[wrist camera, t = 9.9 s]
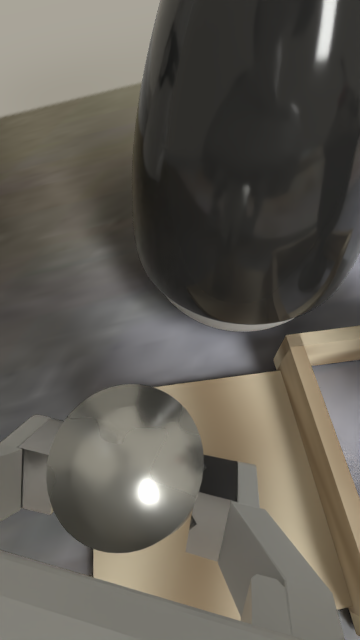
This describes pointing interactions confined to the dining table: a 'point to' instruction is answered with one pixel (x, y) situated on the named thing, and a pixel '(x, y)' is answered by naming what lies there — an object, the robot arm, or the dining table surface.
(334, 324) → the dining table surface
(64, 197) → the dining table surface
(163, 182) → the pump dispenser
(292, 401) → the wooden frame tray
